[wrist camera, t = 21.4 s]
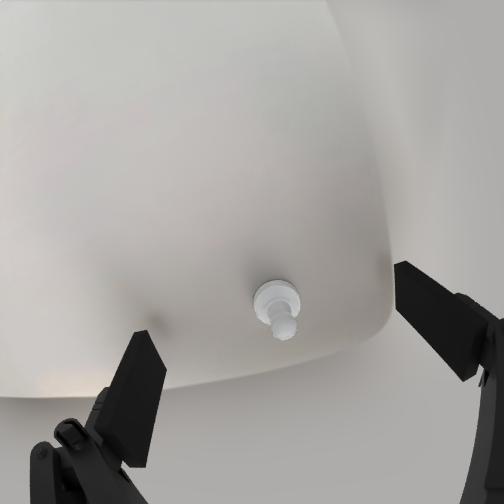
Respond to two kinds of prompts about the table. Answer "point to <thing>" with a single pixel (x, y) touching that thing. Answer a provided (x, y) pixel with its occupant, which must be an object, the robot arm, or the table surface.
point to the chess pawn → (278, 308)
